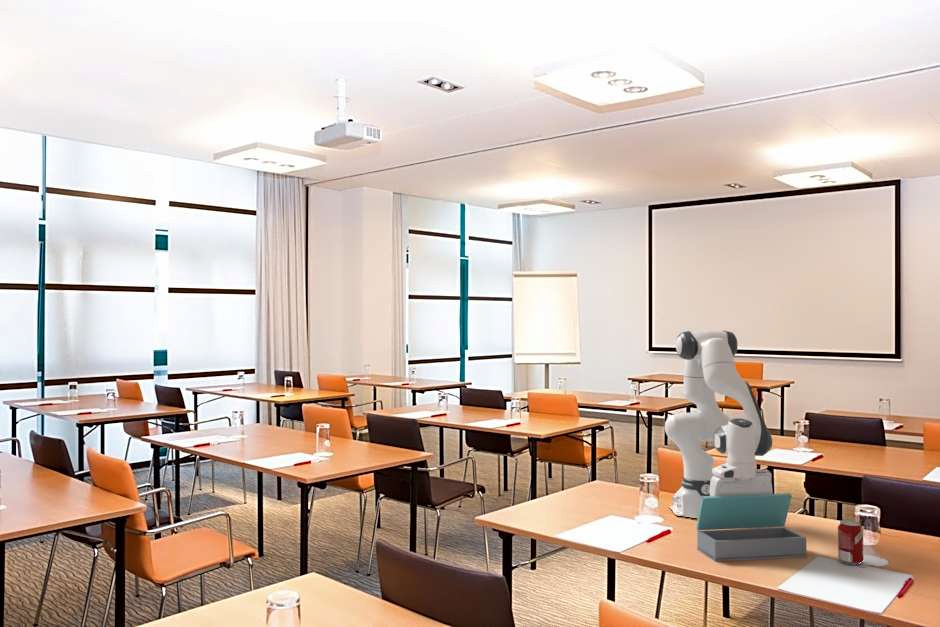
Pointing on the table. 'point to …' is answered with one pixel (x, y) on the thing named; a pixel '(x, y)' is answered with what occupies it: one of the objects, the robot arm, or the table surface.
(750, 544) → the grey open box
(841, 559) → the soda can
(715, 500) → the lid
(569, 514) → the table surface
